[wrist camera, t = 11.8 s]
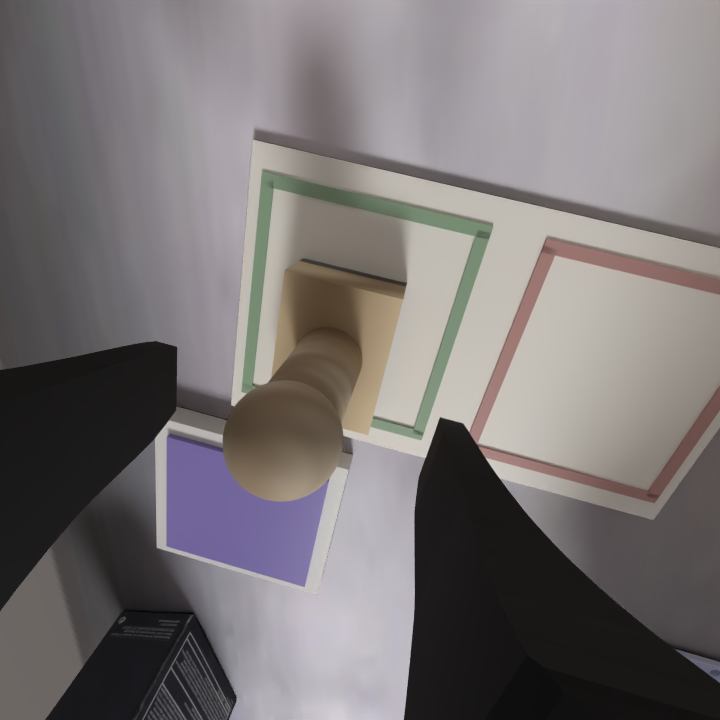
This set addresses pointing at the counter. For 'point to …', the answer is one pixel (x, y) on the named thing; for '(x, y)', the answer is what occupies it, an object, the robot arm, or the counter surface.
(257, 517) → the ink pad
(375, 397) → the stamp
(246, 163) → the counter surface
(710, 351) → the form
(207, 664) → the small box
